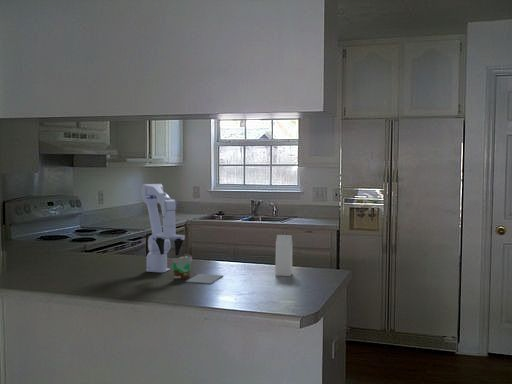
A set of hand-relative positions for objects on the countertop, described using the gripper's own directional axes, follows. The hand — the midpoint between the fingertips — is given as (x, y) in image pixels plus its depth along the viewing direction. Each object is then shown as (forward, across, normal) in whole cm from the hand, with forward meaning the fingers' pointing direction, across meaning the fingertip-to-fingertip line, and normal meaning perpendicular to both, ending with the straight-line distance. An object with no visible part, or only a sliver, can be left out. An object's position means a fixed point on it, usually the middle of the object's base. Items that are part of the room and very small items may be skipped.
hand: (169, 254), depth 247 cm
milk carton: (+11, +50, +21) cm, 55 cm away
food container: (+11, +7, 0) cm, 13 cm away
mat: (+11, +17, 0) cm, 20 cm away
